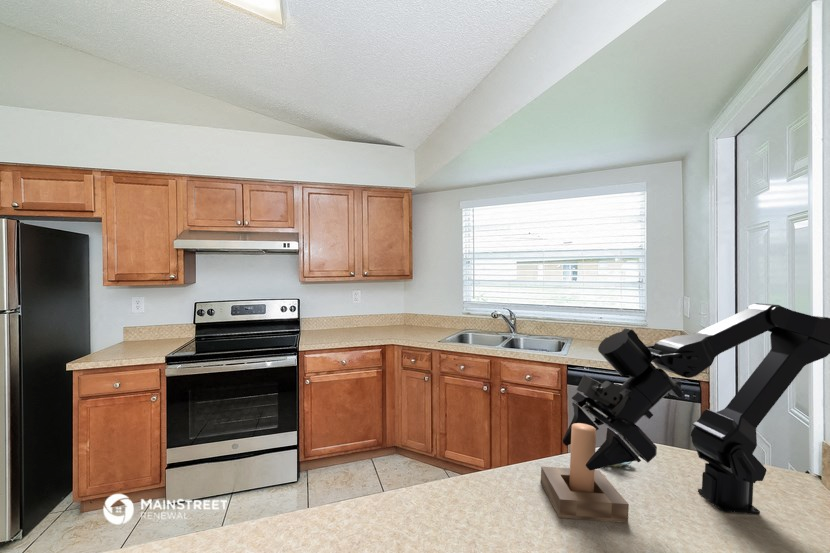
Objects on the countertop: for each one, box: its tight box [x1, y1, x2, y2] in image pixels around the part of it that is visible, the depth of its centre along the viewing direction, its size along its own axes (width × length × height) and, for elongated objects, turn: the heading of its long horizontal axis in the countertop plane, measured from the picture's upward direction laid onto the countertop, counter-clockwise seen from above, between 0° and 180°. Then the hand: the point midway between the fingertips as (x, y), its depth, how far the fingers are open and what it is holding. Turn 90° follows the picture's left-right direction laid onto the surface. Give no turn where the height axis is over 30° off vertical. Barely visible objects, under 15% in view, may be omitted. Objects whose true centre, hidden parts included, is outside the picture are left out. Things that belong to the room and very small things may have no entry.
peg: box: [569, 423, 597, 493], centre depth 68 cm, size 4×4×12 cm
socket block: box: [540, 466, 630, 523], centre depth 68 cm, size 11×11×3 cm
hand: (574, 455), depth 68 cm, fingers open, 9 cm apart
